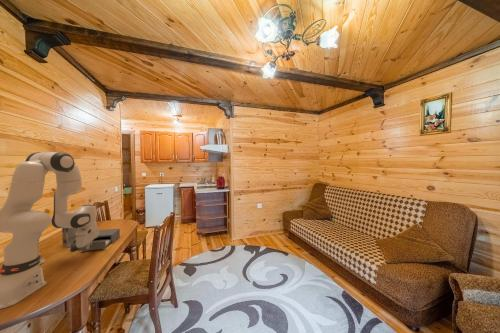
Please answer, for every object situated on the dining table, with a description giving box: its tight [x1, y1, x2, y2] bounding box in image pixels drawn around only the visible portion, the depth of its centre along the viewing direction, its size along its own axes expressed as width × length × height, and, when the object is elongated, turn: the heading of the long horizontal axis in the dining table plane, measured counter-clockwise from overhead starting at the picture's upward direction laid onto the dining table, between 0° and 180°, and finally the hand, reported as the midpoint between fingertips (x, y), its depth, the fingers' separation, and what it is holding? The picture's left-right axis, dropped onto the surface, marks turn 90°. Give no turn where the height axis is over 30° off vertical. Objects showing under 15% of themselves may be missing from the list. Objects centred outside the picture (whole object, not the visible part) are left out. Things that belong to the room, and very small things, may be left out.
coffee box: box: [61, 228, 79, 249], centre depth 142 cm, size 9×6×16 cm
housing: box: [94, 228, 121, 245], centre depth 149 cm, size 14×16×7 cm
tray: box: [77, 239, 111, 252], centre depth 138 cm, size 14×16×5 cm
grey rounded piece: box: [69, 244, 78, 253], centre depth 133 cm, size 4×4×4 cm
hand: (88, 248), depth 128 cm, fingers closed
